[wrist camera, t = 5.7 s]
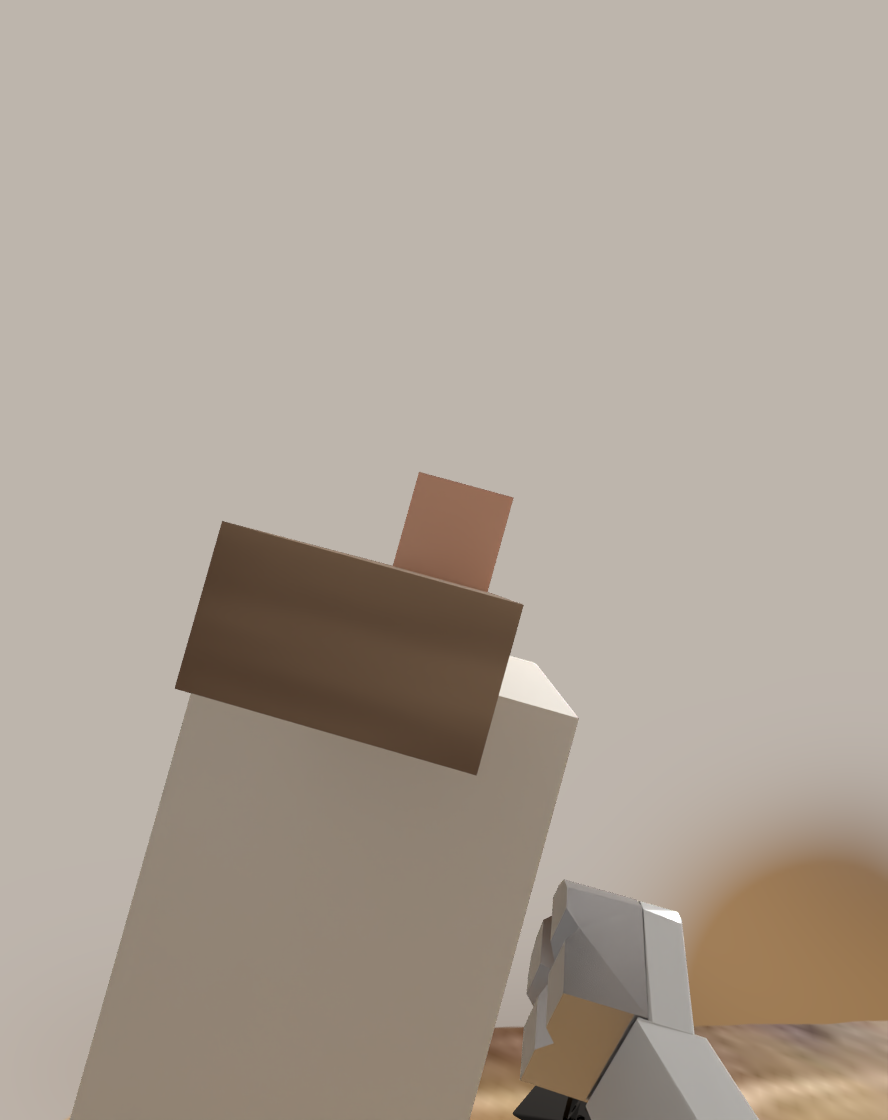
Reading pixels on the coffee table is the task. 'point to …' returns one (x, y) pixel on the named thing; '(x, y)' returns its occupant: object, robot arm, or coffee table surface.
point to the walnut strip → (350, 647)
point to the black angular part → (550, 1106)
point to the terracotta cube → (453, 532)
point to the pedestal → (325, 920)
